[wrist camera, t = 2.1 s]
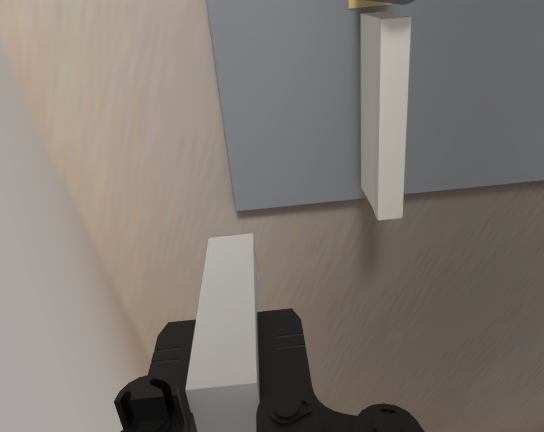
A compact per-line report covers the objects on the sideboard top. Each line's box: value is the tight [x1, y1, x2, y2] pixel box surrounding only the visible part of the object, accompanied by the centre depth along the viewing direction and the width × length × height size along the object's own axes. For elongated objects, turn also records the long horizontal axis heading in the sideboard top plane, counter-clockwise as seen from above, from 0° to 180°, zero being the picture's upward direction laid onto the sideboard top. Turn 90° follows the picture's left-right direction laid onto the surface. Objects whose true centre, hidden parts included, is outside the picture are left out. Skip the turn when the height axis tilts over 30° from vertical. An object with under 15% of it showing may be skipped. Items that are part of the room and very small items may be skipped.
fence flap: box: [361, 12, 411, 220], centre depth 26 cm, size 10×1×5 cm, turn 5°
